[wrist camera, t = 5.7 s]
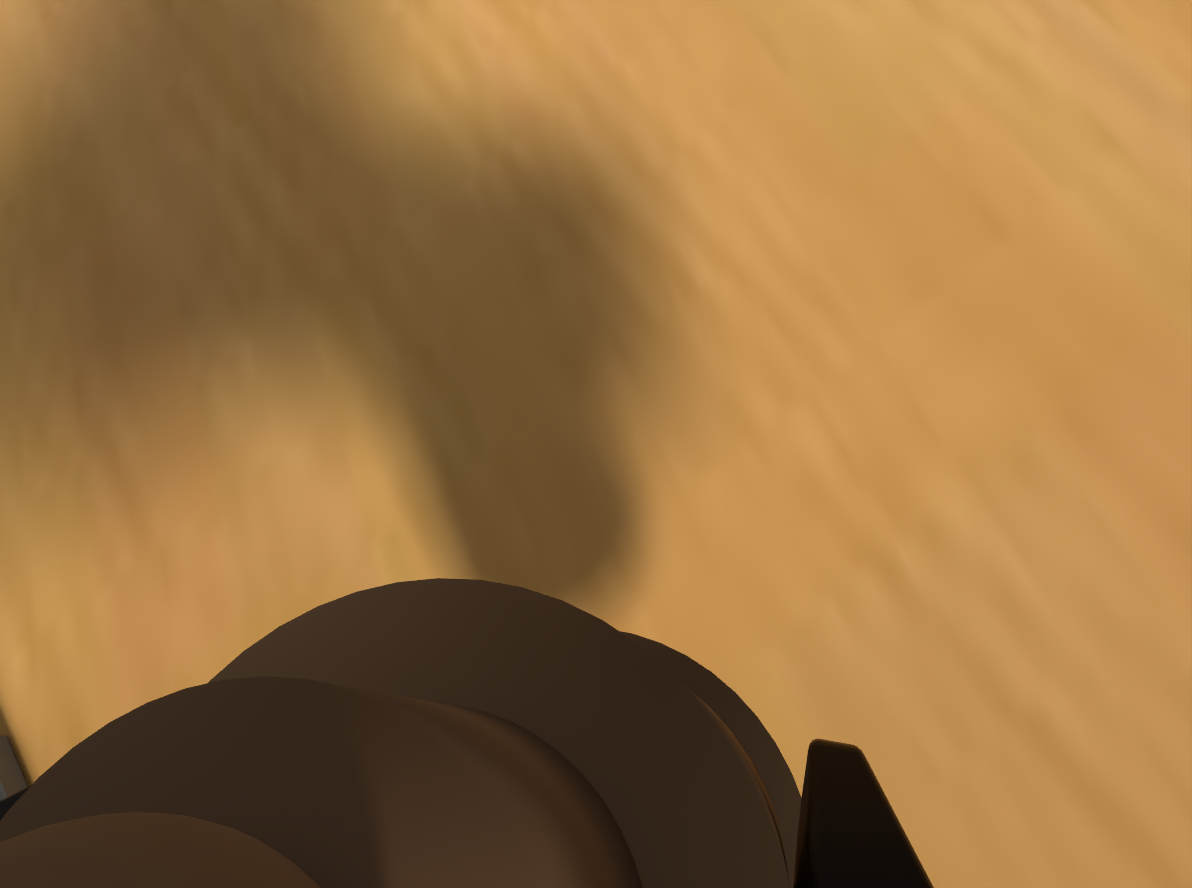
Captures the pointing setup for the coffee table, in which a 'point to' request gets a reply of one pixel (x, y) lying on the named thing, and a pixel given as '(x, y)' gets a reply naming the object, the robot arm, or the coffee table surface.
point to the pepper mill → (423, 762)
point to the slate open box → (9, 771)
